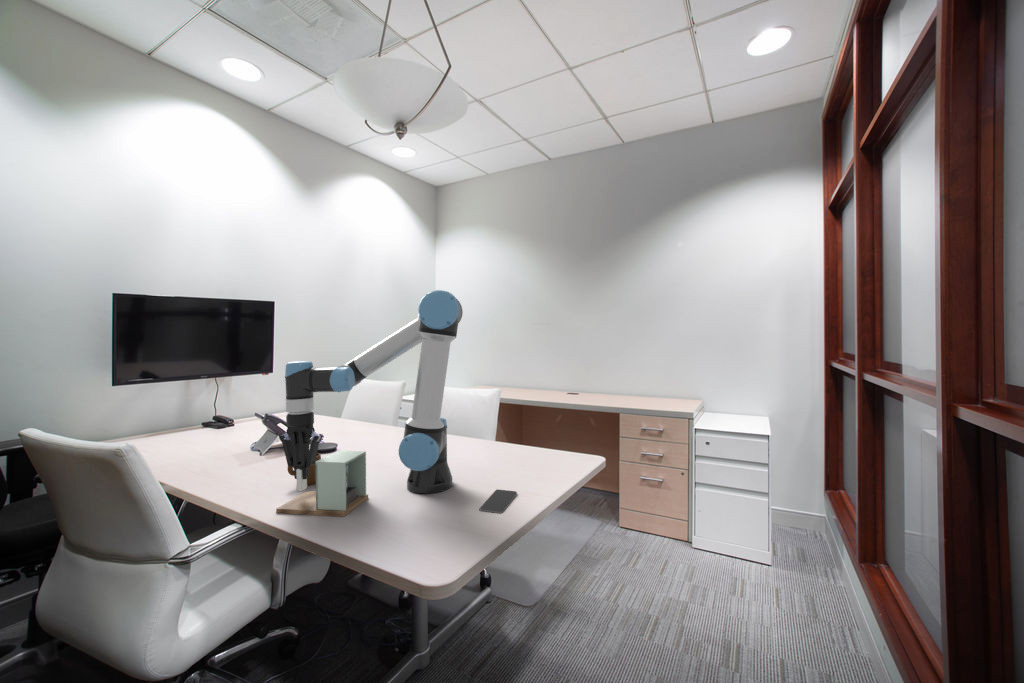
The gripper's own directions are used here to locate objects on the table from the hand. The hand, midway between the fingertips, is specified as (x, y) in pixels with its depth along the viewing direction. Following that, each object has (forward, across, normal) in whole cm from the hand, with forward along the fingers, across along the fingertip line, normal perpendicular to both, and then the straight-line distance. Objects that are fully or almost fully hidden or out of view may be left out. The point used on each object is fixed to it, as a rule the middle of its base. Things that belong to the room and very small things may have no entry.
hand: (301, 489), depth 127 cm
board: (+4, -8, 0) cm, 9 cm away
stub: (+3, -13, +1) cm, 13 cm away
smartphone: (+6, -59, -8) cm, 60 cm away
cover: (+3, -13, 0) cm, 14 cm away
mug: (+4, +10, -16) cm, 19 cm away
